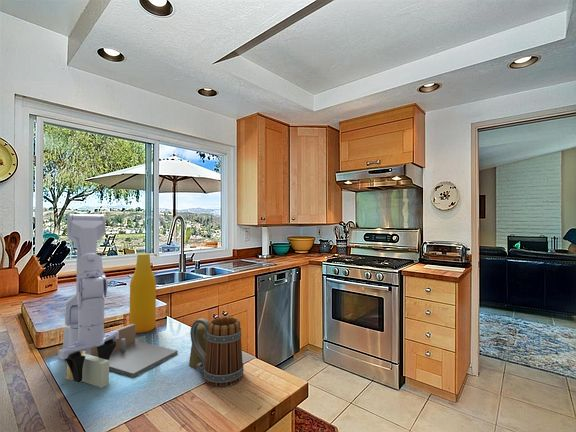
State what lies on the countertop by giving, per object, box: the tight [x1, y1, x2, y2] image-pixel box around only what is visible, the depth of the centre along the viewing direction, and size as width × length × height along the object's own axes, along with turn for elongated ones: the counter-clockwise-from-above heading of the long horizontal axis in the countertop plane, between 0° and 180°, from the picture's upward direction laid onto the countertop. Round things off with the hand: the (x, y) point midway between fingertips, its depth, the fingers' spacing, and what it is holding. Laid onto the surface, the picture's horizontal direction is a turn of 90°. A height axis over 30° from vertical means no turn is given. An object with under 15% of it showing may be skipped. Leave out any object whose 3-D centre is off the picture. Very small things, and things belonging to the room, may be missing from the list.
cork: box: [188, 324, 207, 369], centre depth 90 cm, size 6×6×11 cm
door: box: [66, 351, 110, 389], centre depth 80 cm, size 14×4×6 cm, turn 66°
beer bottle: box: [128, 253, 157, 334], centre depth 118 cm, size 9×9×29 cm
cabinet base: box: [91, 324, 178, 378], centre depth 93 cm, size 20×16×7 cm
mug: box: [189, 316, 245, 388], centre depth 83 cm, size 16×11×15 cm
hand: (90, 375), depth 80 cm, fingers open, 6 cm apart
